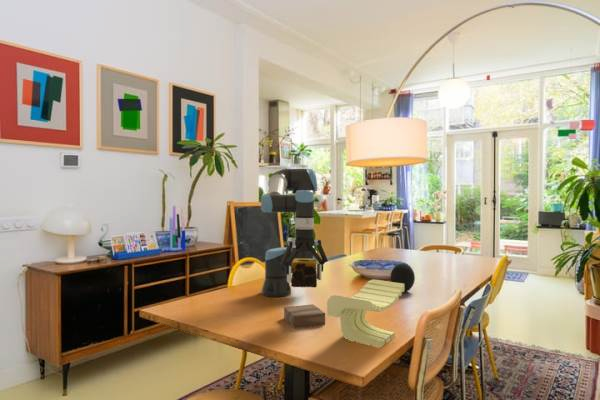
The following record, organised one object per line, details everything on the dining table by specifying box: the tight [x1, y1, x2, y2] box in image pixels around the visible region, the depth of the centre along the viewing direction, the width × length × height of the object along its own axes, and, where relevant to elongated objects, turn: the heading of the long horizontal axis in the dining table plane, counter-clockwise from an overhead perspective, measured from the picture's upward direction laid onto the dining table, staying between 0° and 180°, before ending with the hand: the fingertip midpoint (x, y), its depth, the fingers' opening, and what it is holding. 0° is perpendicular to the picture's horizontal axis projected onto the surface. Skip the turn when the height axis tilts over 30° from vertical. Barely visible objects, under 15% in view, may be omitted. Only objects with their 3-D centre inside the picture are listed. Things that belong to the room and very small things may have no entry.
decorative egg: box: [390, 262, 416, 293], centre depth 210 cm, size 12×12×15 cm
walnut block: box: [283, 304, 326, 329], centre depth 162 cm, size 13×13×5 cm
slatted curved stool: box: [326, 278, 405, 348], centre depth 144 cm, size 30×16×18 cm, turn 144°
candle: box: [290, 258, 318, 288], centre depth 162 cm, size 10×10×10 cm
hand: (304, 281), depth 161 cm, fingers closed on candle, 12 cm apart
